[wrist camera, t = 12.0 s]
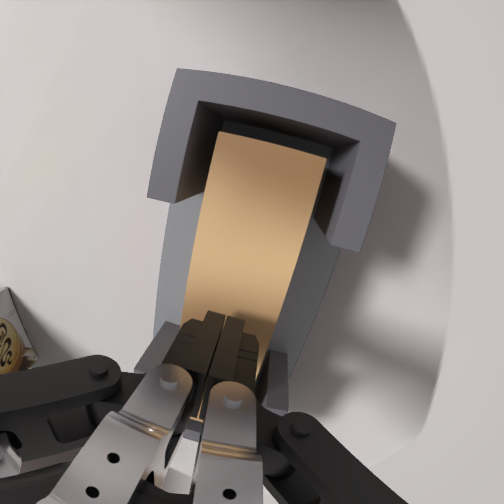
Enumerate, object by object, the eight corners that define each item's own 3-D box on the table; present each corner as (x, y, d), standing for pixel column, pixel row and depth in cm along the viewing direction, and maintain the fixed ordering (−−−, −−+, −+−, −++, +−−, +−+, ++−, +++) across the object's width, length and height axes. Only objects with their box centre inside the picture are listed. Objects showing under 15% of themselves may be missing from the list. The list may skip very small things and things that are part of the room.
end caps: (202, 85, 14) (164, 49, 8) (371, 128, 14) (417, 112, 8) (154, 370, 21) (126, 423, 15) (273, 403, 21) (270, 462, 15)
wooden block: (237, 141, 14) (218, 131, 10) (310, 160, 14) (326, 158, 10) (190, 362, 19) (170, 412, 14) (244, 377, 19) (235, 430, 14)
